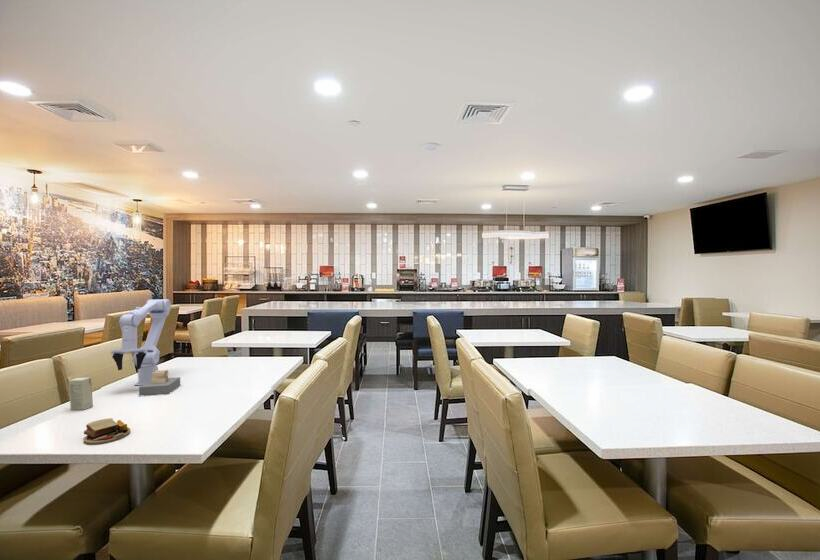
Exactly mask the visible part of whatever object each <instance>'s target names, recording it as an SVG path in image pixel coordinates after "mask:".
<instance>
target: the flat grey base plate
mask: <svg viewBox="0 0 820 560" xmlns="http://www.w3.org/2000/svg"><path fill="white" fill-rule="evenodd" d="M180 386H181V377H180V376H179V377H168V381H166V382H165V383H159V384H152V380H150V381H149V382H147V383H145V384H144V385H139V386H138V396H139V395H148V396H158V395H157V394H163V395H170V394H171V393H173V391H175V390H176V389H178V388H179V387H180ZM177 387H178V388H177ZM174 389H175V390H174ZM170 392H171V393H170Z"/></svg>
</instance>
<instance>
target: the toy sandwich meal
mask: <svg viewBox="0 0 820 560" xmlns="http://www.w3.org/2000/svg"><path fill="white" fill-rule="evenodd" d="M85 427H86V429H85V430H84V431H83V434H84V435H86V436H85V437H84V438H83V442H85V443H87V444H89V443H90V444H89V445H100V443H101V444H105V443H106V442H107V443H110V442H113V441H118V440H120V439H122V438H124V437H125V436H127V435H128V434H129V433H130V432H131V428H130V427H129V426H128V423H124V422H123V421H122V420H121V419H117V421H115V420H114V419H113V418H104V419H98V420H94V421H91V422H88V423H87V424H86V426H85ZM107 443H106V444H107Z"/></svg>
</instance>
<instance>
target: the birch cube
mask: <svg viewBox="0 0 820 560" xmlns="http://www.w3.org/2000/svg"><path fill="white" fill-rule="evenodd" d="M168 378H169V370H168V369H160V370H159V369H158V370H156V371H155V372H153V373H152V384H159V383H165V382H166V381H168Z"/></svg>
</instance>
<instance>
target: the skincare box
mask: <svg viewBox="0 0 820 560" xmlns="http://www.w3.org/2000/svg"><path fill="white" fill-rule="evenodd" d="M92 384H93V383H92V377H75V378H73V379H69V380H68V390H69V392H68V393H69V403H70V405H69V407H70V410H71V411H74V410H77V411H79V410H83V411H84V410H87V409H89V408H92V407H93V406H94V403H93V401H94V400H93V387H92Z"/></svg>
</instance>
